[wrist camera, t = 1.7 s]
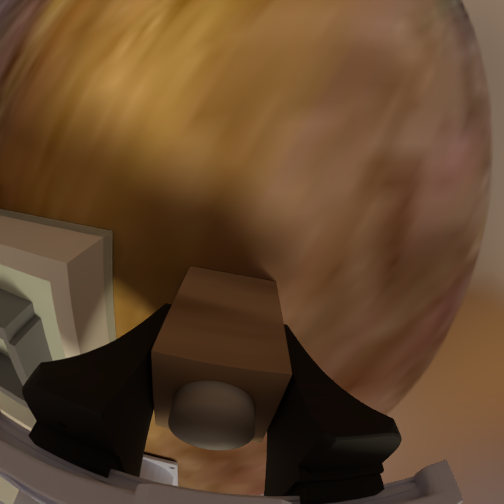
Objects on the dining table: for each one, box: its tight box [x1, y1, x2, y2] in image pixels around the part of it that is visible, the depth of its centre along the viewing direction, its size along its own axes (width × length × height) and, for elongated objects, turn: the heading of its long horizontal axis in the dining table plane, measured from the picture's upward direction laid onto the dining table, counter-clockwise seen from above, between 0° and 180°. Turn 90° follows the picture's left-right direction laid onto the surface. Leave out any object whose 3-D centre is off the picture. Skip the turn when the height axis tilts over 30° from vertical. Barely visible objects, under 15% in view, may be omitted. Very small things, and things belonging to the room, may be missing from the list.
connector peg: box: [151, 266, 292, 450], centre depth 10 cm, size 4×4×7 cm
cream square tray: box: [0, 209, 116, 431], centre depth 13 cm, size 18×18×4 cm
